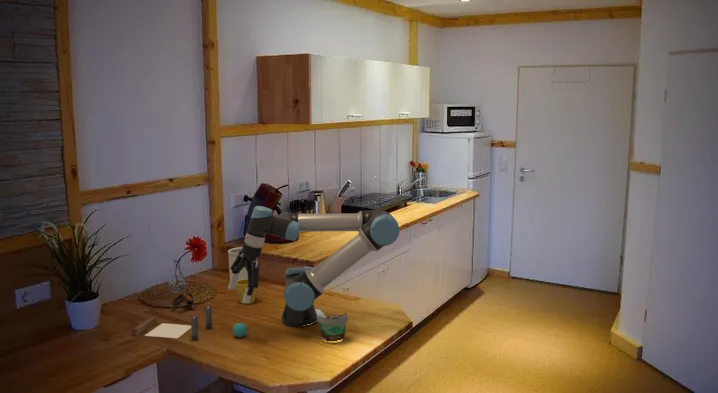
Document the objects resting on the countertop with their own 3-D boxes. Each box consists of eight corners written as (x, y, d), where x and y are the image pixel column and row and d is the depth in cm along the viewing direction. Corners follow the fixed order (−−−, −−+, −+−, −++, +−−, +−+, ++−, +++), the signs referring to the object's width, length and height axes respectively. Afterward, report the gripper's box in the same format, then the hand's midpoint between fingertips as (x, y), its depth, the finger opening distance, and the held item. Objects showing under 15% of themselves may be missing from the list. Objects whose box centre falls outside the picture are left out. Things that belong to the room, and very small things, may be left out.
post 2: (213, 327, 241) (212, 306, 240) (210, 329, 238) (209, 308, 237) (207, 326, 241) (206, 305, 240) (204, 328, 239) (203, 307, 238)
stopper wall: (155, 323, 245) (155, 317, 245) (137, 335, 231) (137, 329, 231) (151, 322, 245) (151, 317, 245) (132, 334, 232) (132, 328, 231)
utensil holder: (224, 285, 300) (223, 252, 298) (234, 278, 314) (234, 246, 312) (251, 287, 298) (251, 253, 295) (261, 279, 312) (260, 247, 310)
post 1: (199, 338, 229) (198, 316, 228) (196, 340, 226) (195, 318, 225) (193, 337, 229) (192, 315, 228) (190, 340, 227) (189, 317, 225)
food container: (324, 346, 222) (324, 321, 220) (317, 341, 227) (317, 316, 226) (353, 341, 227) (353, 316, 226) (346, 336, 233) (346, 311, 231)
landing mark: (193, 326, 242) (193, 325, 242) (177, 338, 228) (177, 338, 228) (162, 323, 244) (162, 323, 244) (144, 335, 231) (144, 335, 231)
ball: (249, 334, 233) (248, 321, 232) (244, 339, 228) (243, 326, 227) (236, 333, 234) (235, 320, 233) (230, 338, 229) (230, 325, 228)
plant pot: (254, 297, 281) (253, 277, 280) (262, 303, 273) (261, 282, 271) (233, 300, 276) (232, 280, 275) (240, 306, 267) (240, 285, 266)
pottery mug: (193, 314, 258) (183, 299, 256) (176, 321, 261) (165, 307, 258) (202, 299, 269) (192, 285, 267) (185, 306, 272) (175, 292, 269)
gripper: (231, 234, 237) (217, 283, 239) (259, 254, 217) (243, 307, 220) (247, 236, 241) (233, 284, 244) (276, 256, 222) (260, 308, 224)
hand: (238, 295), depth 232 cm, fingers open, 13 cm apart
